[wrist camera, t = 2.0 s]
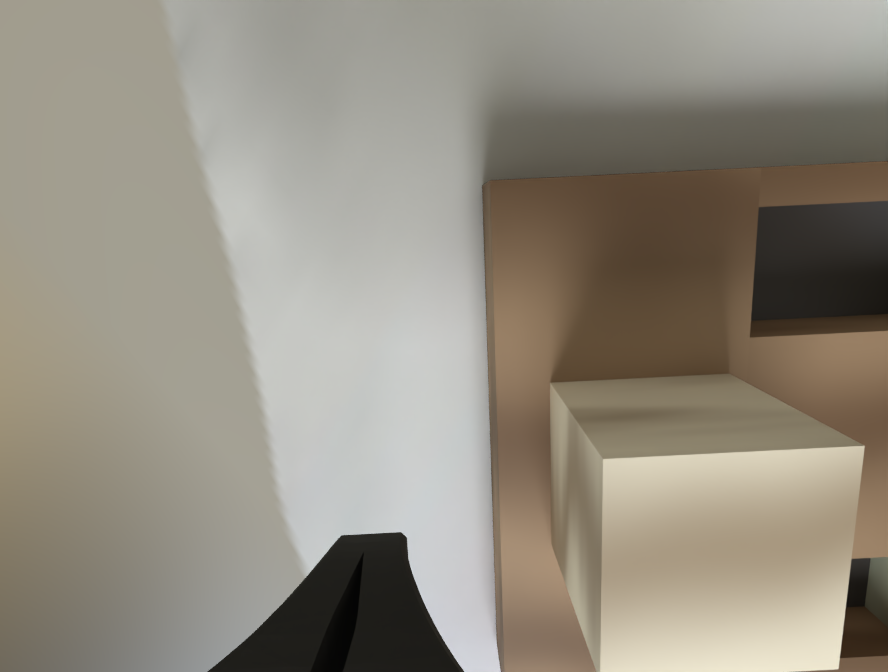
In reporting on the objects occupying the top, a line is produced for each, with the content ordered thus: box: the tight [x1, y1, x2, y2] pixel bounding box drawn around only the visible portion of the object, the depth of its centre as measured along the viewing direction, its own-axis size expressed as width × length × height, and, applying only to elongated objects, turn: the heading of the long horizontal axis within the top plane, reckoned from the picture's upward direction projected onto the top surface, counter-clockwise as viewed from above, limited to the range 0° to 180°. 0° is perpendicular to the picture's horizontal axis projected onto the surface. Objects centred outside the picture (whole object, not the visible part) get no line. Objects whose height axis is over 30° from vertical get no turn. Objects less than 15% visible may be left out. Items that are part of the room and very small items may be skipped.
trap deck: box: [482, 161, 888, 672], centre depth 17 cm, size 16×20×2 cm
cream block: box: [550, 374, 865, 672], centre depth 14 cm, size 5×5×5 cm
